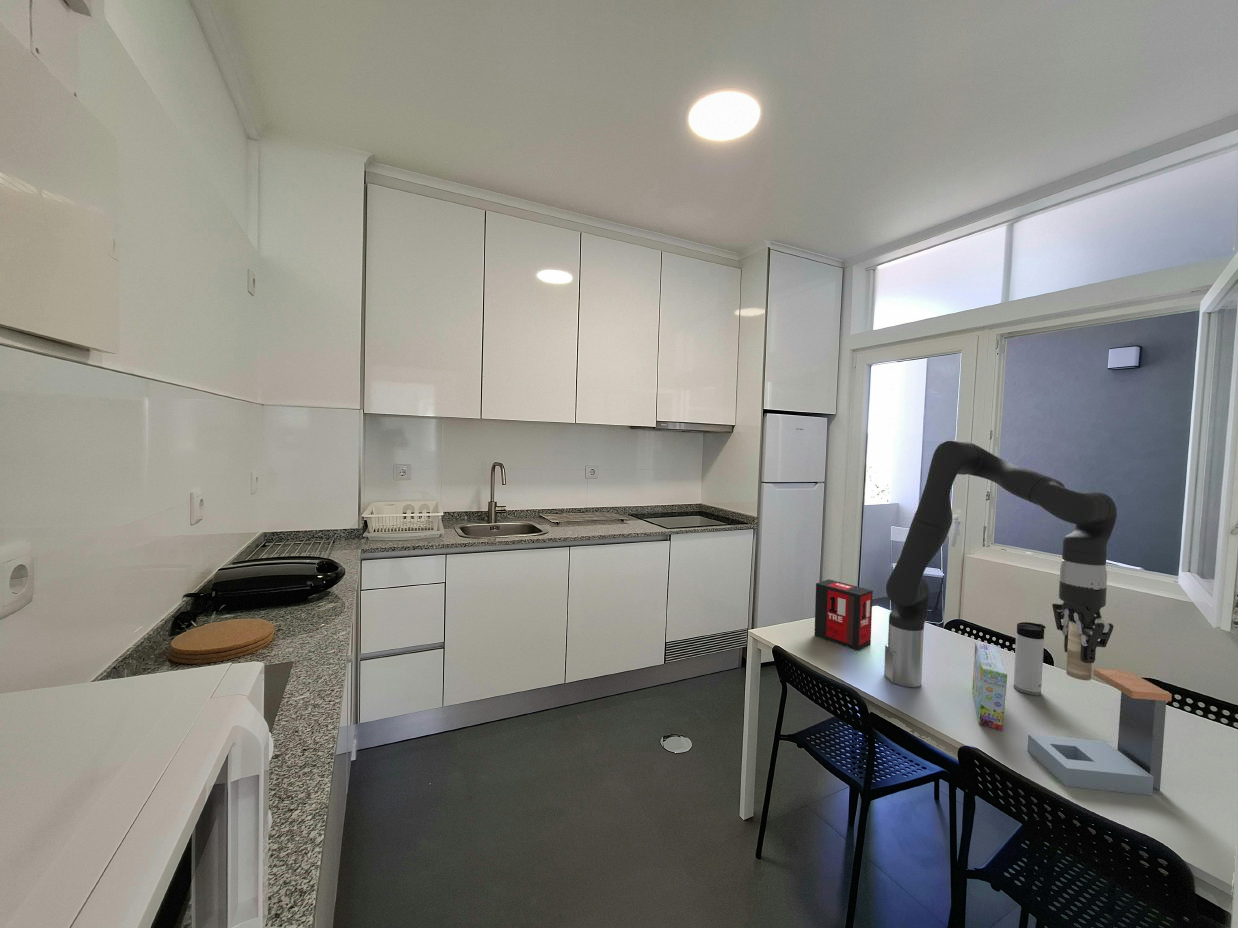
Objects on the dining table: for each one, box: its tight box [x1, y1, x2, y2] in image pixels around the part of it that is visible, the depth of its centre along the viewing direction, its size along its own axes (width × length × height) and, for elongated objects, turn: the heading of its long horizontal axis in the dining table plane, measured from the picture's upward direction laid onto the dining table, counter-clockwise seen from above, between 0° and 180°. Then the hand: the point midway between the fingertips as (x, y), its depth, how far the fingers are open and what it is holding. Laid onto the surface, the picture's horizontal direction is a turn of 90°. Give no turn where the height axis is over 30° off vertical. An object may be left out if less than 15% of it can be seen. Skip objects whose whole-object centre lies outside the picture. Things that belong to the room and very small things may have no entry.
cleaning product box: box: [814, 579, 873, 652], centre depth 176 cm, size 16×9×20 cm, turn 37°
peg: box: [1065, 621, 1093, 681], centre depth 107 cm, size 4×4×12 cm
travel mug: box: [1012, 621, 1046, 696], centre depth 142 cm, size 6×7×20 cm
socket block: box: [1026, 733, 1154, 796], centre depth 107 cm, size 16×12×4 cm
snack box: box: [971, 641, 1008, 731], centre depth 132 cm, size 21×6×15 cm, turn 148°
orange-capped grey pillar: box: [1092, 668, 1173, 791], centre depth 106 cm, size 7×10×22 cm
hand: (1079, 657), depth 107 cm, fingers closed on peg, 4 cm apart
